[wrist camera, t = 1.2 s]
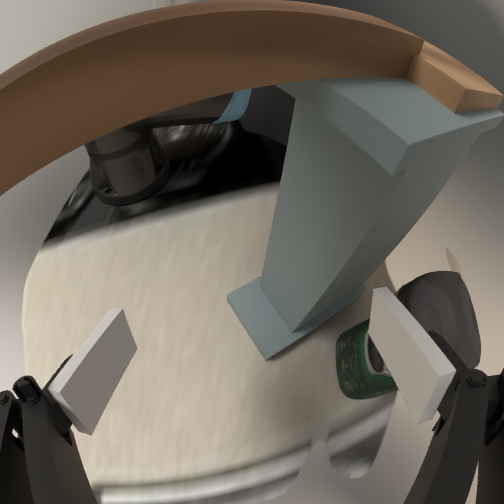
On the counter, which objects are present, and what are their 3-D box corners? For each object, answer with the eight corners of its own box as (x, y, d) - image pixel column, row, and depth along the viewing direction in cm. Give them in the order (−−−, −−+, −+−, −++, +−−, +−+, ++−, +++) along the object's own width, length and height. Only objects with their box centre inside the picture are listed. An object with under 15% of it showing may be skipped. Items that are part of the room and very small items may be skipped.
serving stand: (227, 300, 34) (218, 34, 8) (323, 247, 39) (409, 46, 13) (265, 360, 31) (408, 144, 5) (361, 295, 36) (504, 114, 10)
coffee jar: (390, 392, 29) (498, 367, 13) (336, 403, 28) (434, 396, 12) (382, 325, 33) (472, 259, 17) (330, 330, 33) (408, 260, 17)
